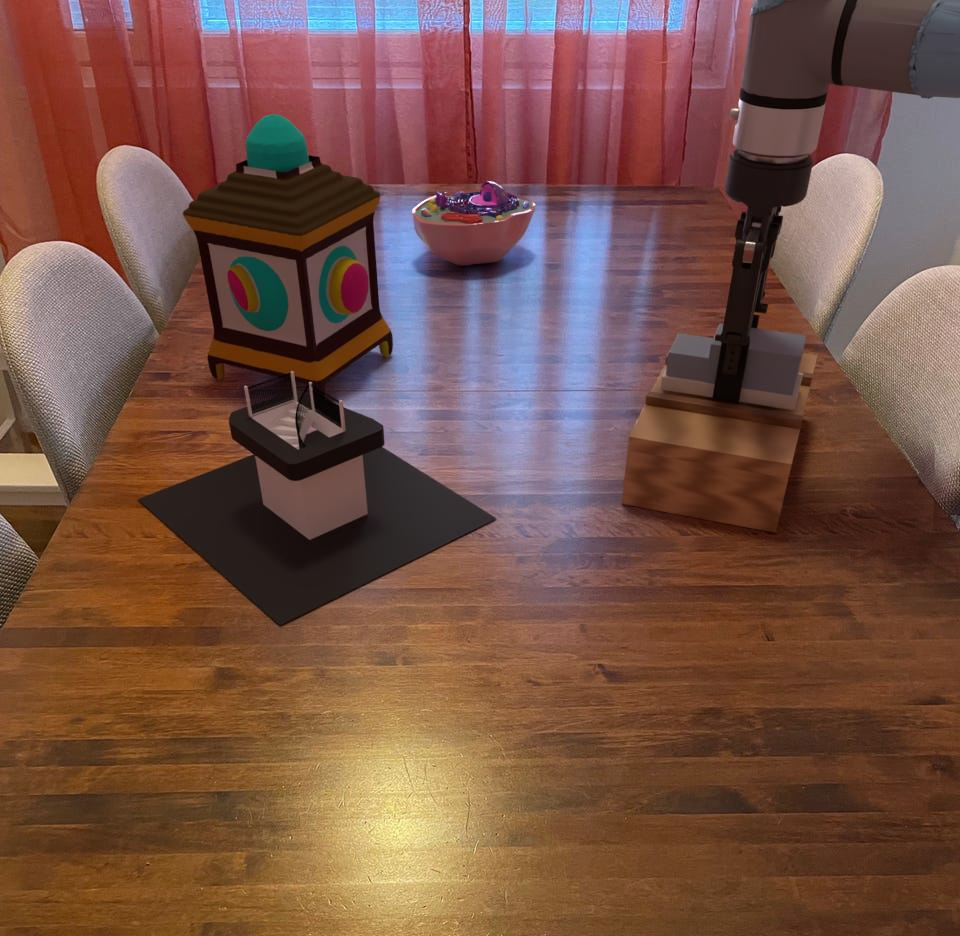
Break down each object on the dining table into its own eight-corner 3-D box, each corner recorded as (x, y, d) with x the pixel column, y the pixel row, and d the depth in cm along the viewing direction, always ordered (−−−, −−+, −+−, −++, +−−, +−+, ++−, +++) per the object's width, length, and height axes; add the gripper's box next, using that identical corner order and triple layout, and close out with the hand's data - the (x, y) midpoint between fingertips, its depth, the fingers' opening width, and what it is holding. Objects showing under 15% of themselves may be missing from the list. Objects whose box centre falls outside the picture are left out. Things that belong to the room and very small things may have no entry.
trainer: (800, 385, 105) (812, 334, 102) (794, 410, 101) (805, 358, 97) (671, 366, 109) (678, 316, 105) (660, 389, 105) (666, 338, 101)
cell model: (395, 253, 161) (391, 180, 154) (501, 234, 168) (502, 163, 161) (441, 288, 150) (439, 210, 142) (553, 265, 157) (556, 190, 149)
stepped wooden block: (803, 418, 118) (819, 346, 112) (775, 533, 99) (793, 454, 93) (671, 397, 122) (680, 327, 116) (621, 504, 103) (629, 427, 98)
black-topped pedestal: (496, 519, 101) (498, 400, 93) (280, 626, 88) (258, 500, 79) (340, 421, 117) (329, 313, 109) (137, 500, 104) (106, 383, 95)
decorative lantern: (408, 353, 132) (395, 104, 112) (325, 416, 118) (294, 146, 99) (286, 326, 139) (254, 87, 119) (195, 382, 125) (141, 124, 106)
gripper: (746, 124, 98) (711, 345, 113) (713, 176, 84) (678, 420, 99) (824, 130, 96) (777, 355, 111) (803, 185, 82) (753, 432, 97)
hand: (730, 385), depth 105 cm, fingers closed on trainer, 6 cm apart
